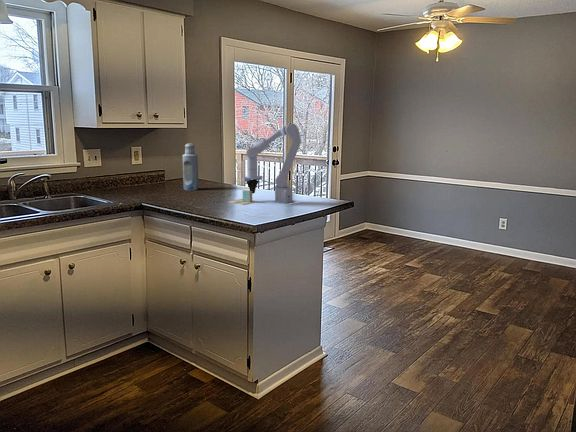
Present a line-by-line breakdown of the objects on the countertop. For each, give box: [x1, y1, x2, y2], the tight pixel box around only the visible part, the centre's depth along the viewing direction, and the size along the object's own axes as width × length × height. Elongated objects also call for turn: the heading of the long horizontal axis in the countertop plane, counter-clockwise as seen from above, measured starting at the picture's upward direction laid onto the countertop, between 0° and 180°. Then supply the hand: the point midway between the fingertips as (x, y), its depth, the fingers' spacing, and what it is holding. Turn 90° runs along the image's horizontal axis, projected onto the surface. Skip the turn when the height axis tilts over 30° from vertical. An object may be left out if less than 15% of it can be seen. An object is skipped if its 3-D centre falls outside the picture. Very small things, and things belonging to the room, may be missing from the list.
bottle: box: [182, 143, 199, 191], centre depth 319 cm, size 10×10×30 cm
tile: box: [242, 189, 253, 202], centre depth 272 cm, size 6×2×6 cm, turn 50°
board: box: [228, 198, 260, 206], centre depth 272 cm, size 14×13×1 cm
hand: (252, 193), depth 275 cm, fingers closed
